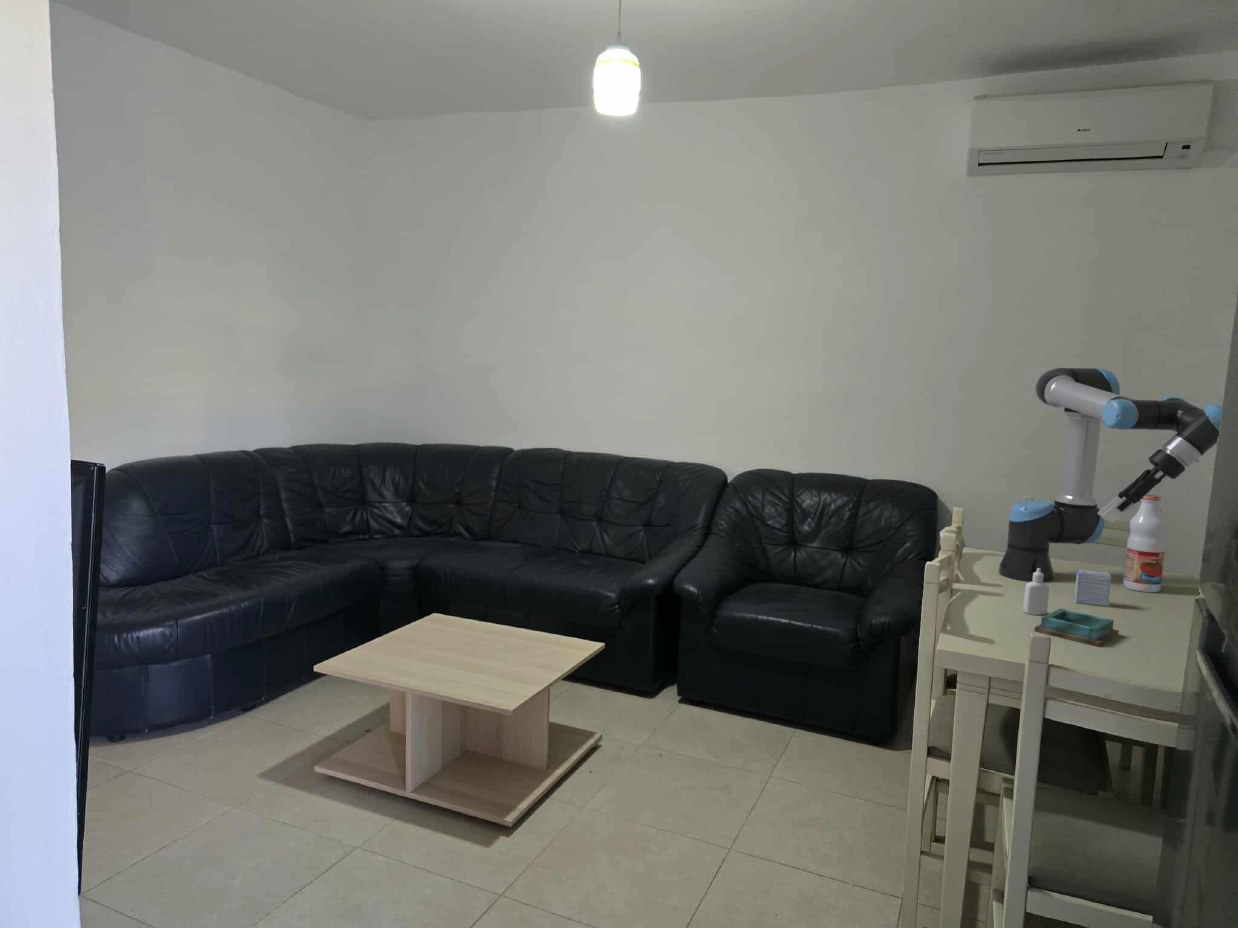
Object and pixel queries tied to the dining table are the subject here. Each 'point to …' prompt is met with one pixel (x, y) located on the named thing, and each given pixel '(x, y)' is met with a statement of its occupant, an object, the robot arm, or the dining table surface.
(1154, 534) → the fruit juice
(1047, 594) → the eye dropper bottle
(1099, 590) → the medicine box
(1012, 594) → the dining table surface
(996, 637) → the dining table surface
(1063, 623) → the bottle stand
